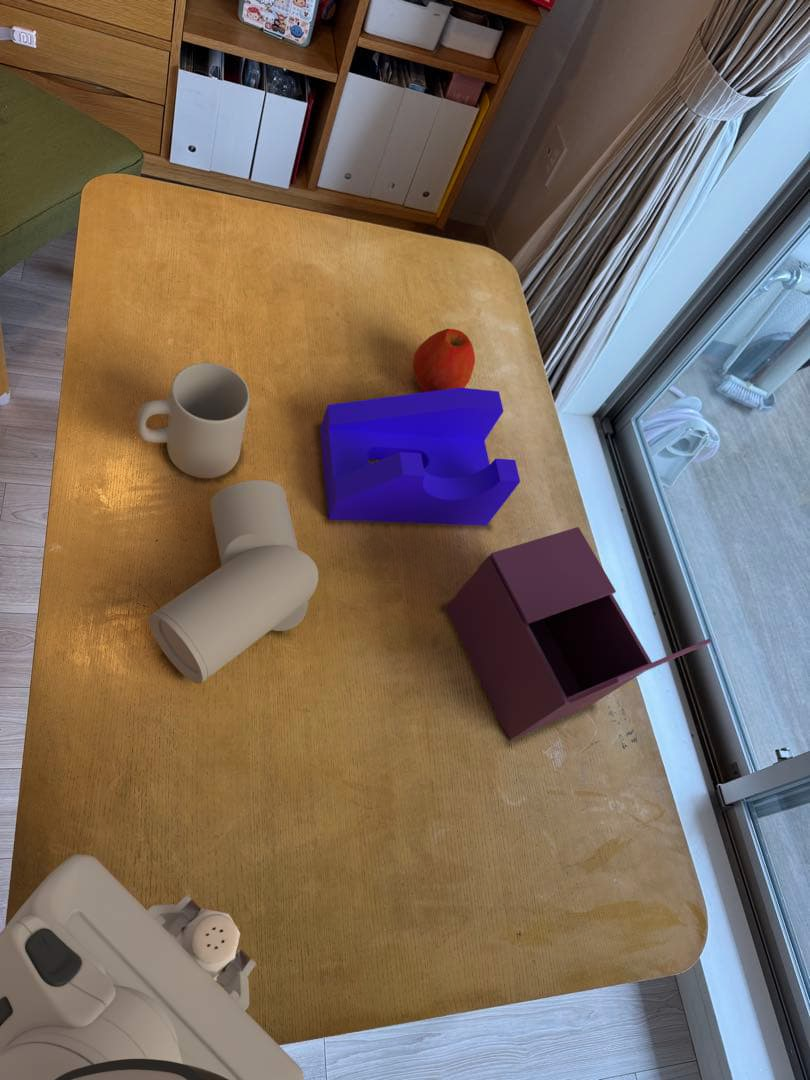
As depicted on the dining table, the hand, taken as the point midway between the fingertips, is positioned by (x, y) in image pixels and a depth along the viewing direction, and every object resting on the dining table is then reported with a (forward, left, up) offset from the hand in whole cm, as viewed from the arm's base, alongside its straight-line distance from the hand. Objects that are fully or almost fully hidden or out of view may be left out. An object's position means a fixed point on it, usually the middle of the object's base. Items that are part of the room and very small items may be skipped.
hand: (215, 934), depth 53 cm
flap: (+5, -43, 0) cm, 44 cm away
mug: (+51, -15, -18) cm, 56 cm away
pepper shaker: (0, +1, -6) cm, 6 cm away
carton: (+14, -43, -18) cm, 49 cm away
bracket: (+41, -40, -18) cm, 60 cm away
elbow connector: (+31, -13, -18) cm, 38 cm away
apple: (+54, -51, -18) cm, 77 cm away
